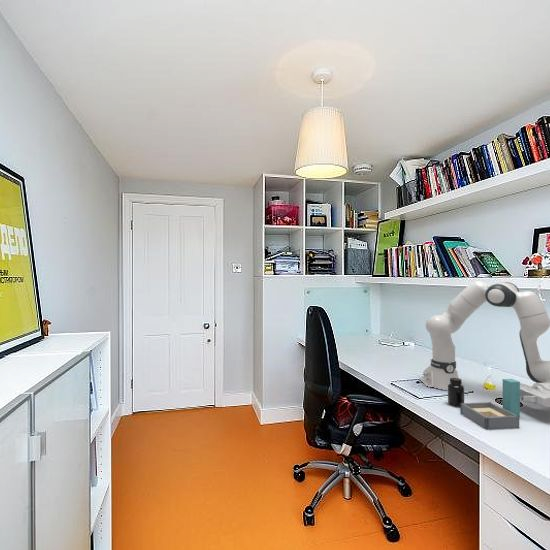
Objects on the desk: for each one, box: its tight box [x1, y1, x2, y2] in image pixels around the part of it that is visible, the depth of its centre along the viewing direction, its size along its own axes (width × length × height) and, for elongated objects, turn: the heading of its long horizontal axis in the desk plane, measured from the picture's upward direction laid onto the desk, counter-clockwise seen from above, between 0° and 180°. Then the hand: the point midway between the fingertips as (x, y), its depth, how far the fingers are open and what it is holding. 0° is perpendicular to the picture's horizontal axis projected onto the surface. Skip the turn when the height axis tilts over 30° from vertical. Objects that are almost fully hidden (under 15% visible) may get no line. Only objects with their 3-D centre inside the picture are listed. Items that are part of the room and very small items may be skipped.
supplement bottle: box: [447, 377, 465, 408], centre depth 164 cm, size 7×7×12 cm
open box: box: [459, 401, 520, 431], centre depth 147 cm, size 16×14×4 cm
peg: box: [502, 378, 521, 418], centre depth 152 cm, size 4×4×15 cm
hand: (513, 394), depth 152 cm, fingers open, 8 cm apart
